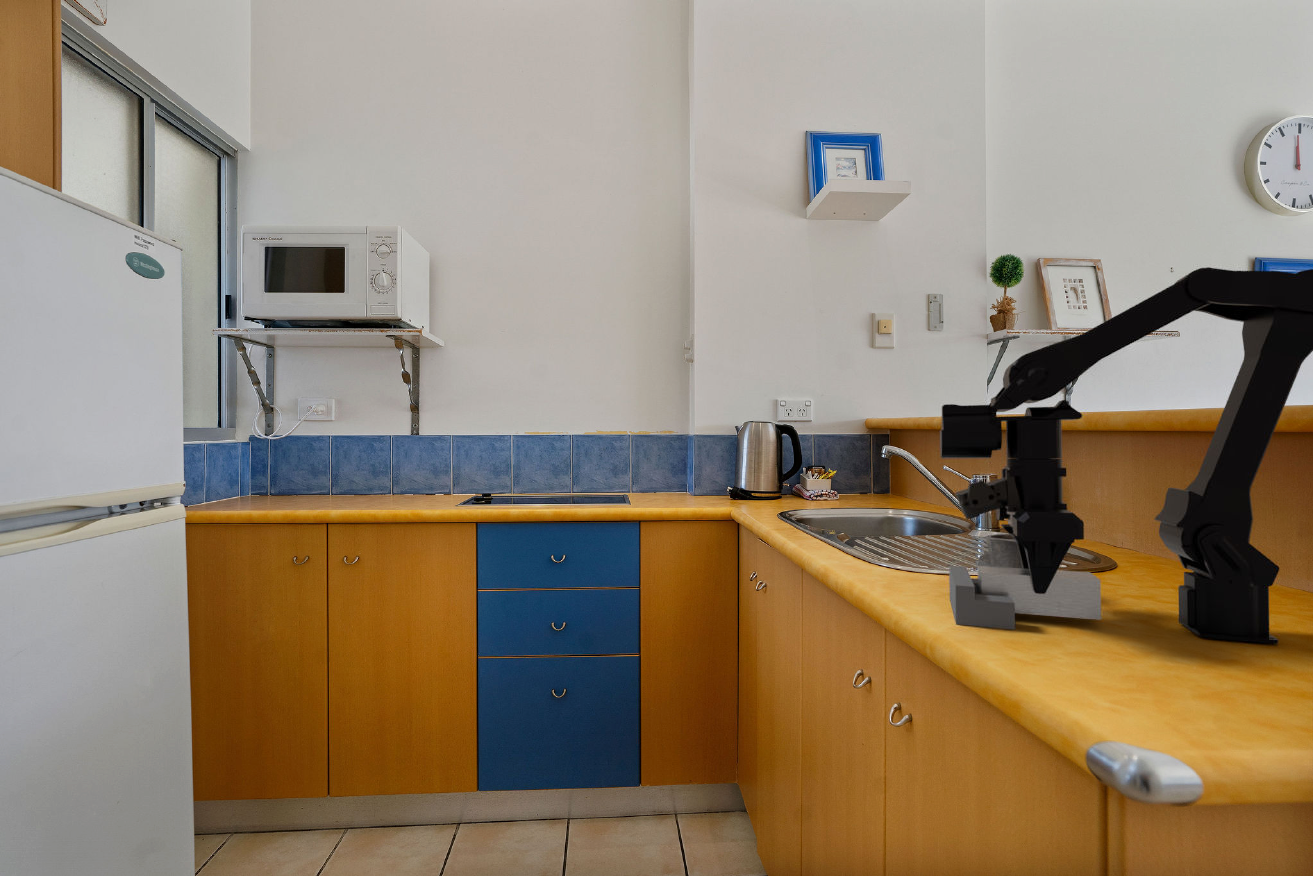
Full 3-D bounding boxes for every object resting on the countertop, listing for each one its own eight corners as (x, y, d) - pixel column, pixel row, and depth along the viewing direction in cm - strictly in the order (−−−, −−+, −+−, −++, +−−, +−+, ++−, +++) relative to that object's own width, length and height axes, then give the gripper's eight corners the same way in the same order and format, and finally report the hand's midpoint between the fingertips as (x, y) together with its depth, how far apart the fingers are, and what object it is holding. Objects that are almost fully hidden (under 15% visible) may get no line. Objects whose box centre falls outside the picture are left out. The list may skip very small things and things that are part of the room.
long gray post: (1090, 610, 75) (1089, 572, 75) (1101, 619, 71) (1100, 579, 71) (978, 601, 80) (977, 565, 80) (981, 610, 75) (981, 572, 75)
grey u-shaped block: (1000, 603, 82) (999, 568, 82) (1015, 629, 71) (1014, 589, 71) (949, 599, 84) (949, 565, 85) (955, 624, 73) (955, 585, 73)
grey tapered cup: (1006, 579, 97) (1005, 527, 97) (1048, 599, 84) (1047, 540, 84) (964, 578, 98) (964, 527, 98) (1000, 599, 85) (999, 539, 85)
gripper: (954, 457, 87) (956, 569, 87) (965, 460, 70) (967, 601, 70) (1047, 457, 83) (1049, 575, 83) (1084, 460, 66) (1086, 610, 65)
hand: (1035, 588), depth 75 cm, fingers closed on long gray post, 4 cm apart
